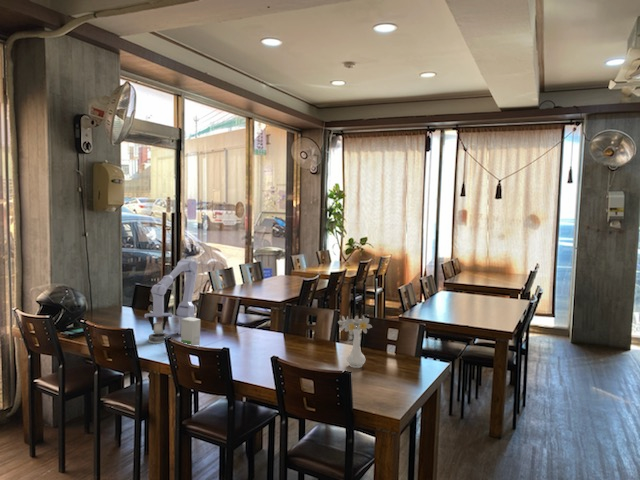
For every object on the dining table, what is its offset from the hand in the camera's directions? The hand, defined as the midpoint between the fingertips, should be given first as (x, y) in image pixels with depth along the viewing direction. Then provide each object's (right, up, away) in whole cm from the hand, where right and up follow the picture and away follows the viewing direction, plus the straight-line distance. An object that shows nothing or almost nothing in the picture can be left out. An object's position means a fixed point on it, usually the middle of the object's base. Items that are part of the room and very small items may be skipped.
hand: (158, 329), depth 273 cm
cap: (0, -2, 0) cm, 2 cm away
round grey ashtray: (0, -6, 0) cm, 6 cm away
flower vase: (+108, -11, -35) cm, 114 cm away
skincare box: (+21, -8, -10) cm, 24 cm away
